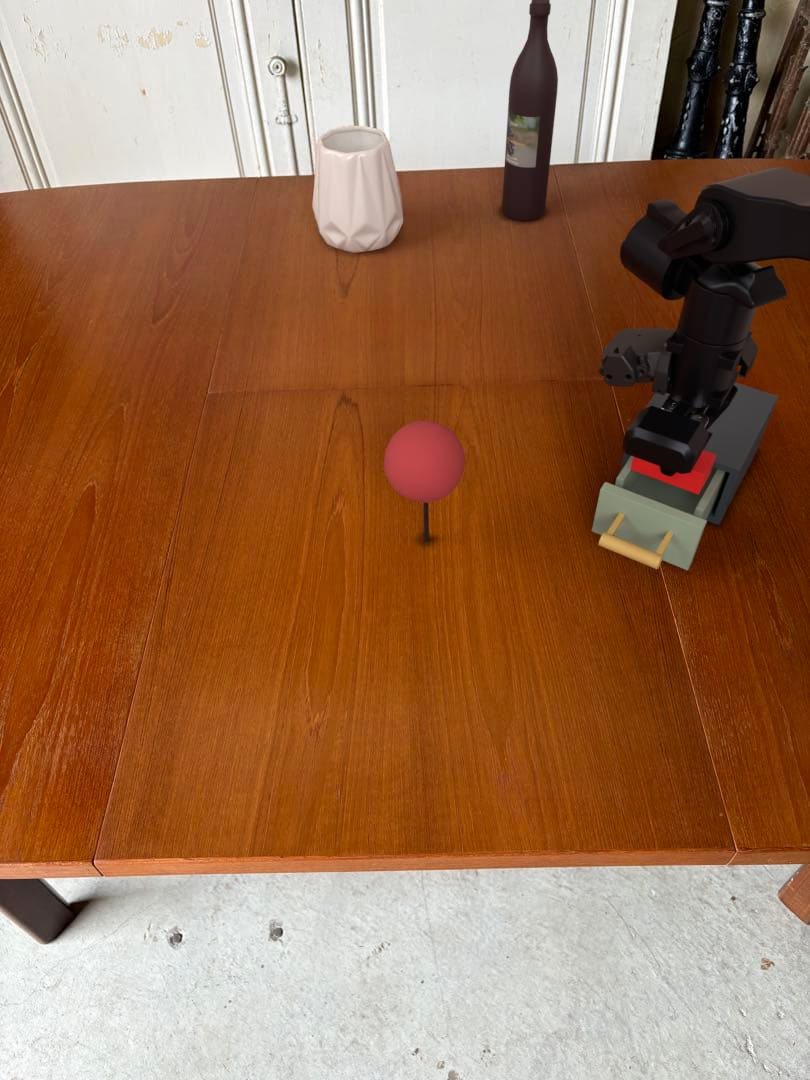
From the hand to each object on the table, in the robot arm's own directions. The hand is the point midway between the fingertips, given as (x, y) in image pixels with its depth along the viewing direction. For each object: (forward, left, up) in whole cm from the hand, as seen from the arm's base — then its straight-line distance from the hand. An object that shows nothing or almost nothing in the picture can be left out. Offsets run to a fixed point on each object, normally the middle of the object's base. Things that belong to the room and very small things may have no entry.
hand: (673, 463), depth 80 cm
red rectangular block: (0, 0, -1) cm, 1 cm away
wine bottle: (+44, -56, -9) cm, 72 cm away
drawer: (0, +1, -8) cm, 8 cm away
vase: (+63, -36, -9) cm, 73 cm away
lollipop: (+20, +14, -9) cm, 26 cm away
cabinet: (0, -10, -9) cm, 14 cm away
